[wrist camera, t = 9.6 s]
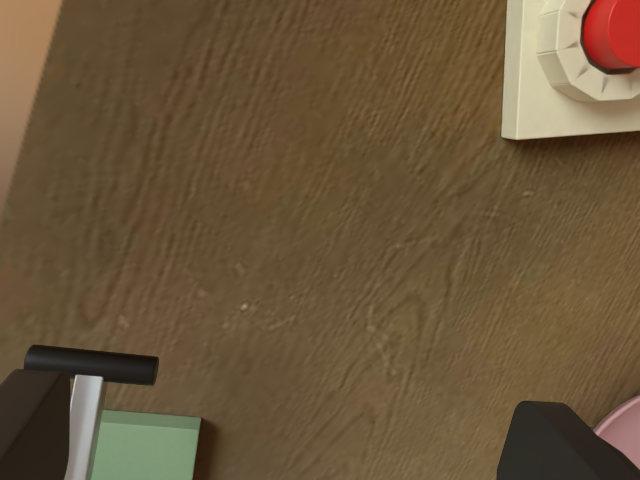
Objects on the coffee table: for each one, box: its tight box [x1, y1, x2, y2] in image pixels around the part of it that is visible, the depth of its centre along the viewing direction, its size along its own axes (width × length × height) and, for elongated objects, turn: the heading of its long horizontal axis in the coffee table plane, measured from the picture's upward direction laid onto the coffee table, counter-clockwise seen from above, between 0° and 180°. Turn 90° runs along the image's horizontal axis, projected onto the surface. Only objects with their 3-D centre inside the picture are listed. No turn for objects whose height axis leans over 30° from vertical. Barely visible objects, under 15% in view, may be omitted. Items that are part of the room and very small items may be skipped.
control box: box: [502, 0, 640, 140], centre depth 24 cm, size 10×8×4 cm
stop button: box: [583, 0, 640, 69], centre depth 22 cm, size 4×4×2 cm
